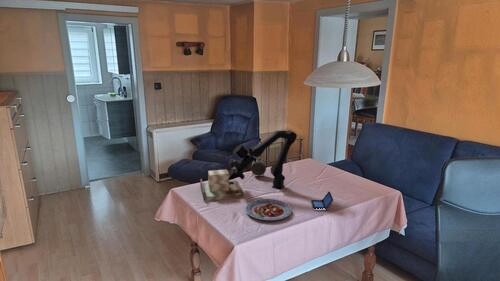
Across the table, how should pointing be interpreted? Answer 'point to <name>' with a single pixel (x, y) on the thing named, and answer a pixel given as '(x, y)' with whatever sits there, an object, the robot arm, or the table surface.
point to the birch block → (218, 180)
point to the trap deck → (233, 191)
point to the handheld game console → (322, 202)
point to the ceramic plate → (268, 209)
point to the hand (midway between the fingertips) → (228, 180)
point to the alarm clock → (258, 167)
